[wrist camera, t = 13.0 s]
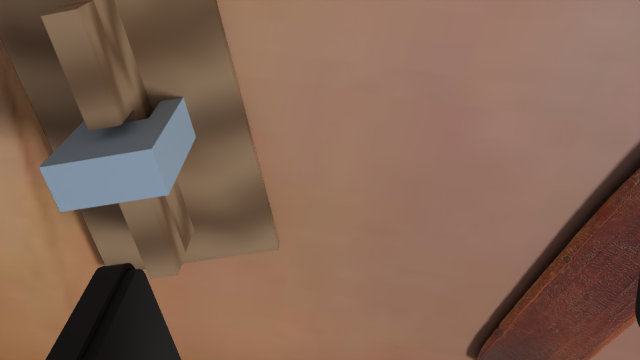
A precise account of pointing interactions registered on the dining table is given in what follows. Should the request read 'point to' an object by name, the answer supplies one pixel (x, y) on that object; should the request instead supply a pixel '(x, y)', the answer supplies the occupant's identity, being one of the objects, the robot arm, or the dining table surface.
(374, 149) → the dining table surface
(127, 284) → the robot arm
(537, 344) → the wooden tablet
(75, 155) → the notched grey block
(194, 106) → the walnut stand
